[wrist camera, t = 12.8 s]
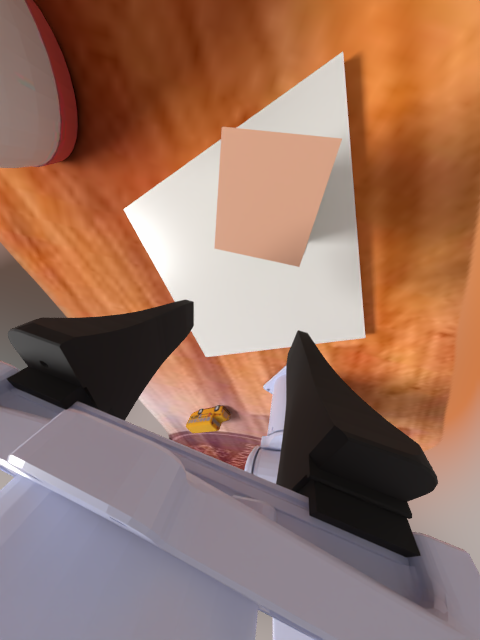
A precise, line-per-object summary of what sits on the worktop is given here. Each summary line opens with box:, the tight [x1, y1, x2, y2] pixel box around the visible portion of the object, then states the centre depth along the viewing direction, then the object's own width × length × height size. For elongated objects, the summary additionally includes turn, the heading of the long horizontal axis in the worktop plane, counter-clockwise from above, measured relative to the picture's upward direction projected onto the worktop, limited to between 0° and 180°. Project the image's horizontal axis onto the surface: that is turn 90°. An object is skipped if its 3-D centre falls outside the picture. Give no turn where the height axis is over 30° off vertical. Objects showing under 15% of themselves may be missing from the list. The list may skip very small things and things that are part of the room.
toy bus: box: [186, 406, 230, 433], centre depth 37 cm, size 3×10×4 cm, turn 125°
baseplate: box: [123, 52, 365, 357], centre depth 20 cm, size 22×22×1 cm
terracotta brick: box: [214, 127, 342, 267], centre depth 10 cm, size 5×5×4 cm
